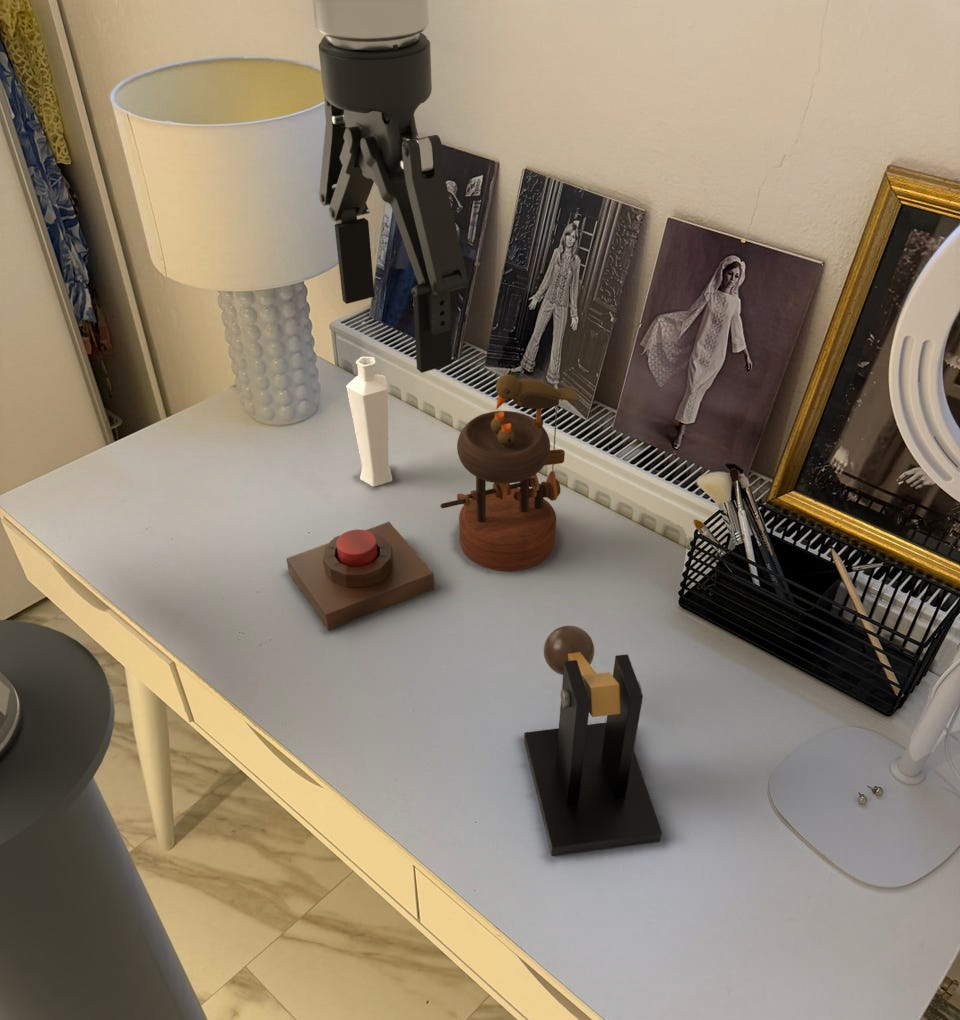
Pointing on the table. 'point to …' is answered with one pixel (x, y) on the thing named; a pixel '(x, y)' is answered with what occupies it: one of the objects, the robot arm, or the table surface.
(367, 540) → the button
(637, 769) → the lever bracket
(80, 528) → the table surface
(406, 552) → the button housing
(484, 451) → the music box
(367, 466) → the perfume bottle
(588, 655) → the lever
